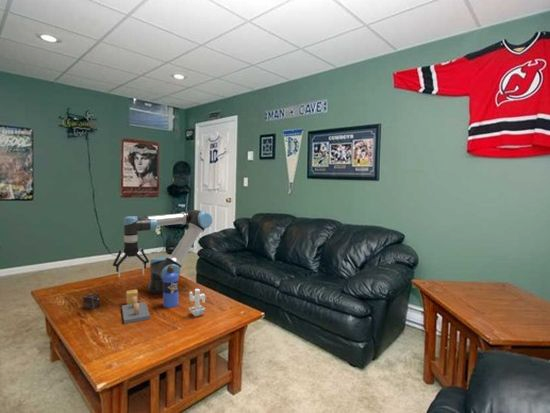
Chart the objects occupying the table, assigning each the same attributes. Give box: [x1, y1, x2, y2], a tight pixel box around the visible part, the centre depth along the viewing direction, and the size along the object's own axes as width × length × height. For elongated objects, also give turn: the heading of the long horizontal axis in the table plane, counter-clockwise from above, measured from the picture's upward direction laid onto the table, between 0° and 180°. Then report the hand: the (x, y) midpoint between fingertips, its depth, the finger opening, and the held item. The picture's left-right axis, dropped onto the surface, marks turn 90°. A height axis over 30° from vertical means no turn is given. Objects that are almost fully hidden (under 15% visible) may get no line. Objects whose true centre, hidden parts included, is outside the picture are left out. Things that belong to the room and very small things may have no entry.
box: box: [82, 293, 100, 310], centre depth 184 cm, size 6×6×7 cm
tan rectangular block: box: [125, 289, 139, 305], centre depth 190 cm, size 6×6×8 cm
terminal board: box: [121, 296, 151, 325], centre depth 176 cm, size 13×22×8 cm, turn 29°
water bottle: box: [162, 265, 179, 309], centre depth 189 cm, size 9×9×25 cm
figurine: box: [188, 288, 207, 317], centre depth 177 cm, size 7×9×15 cm
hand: (131, 275), depth 189 cm, fingers open, 13 cm apart
